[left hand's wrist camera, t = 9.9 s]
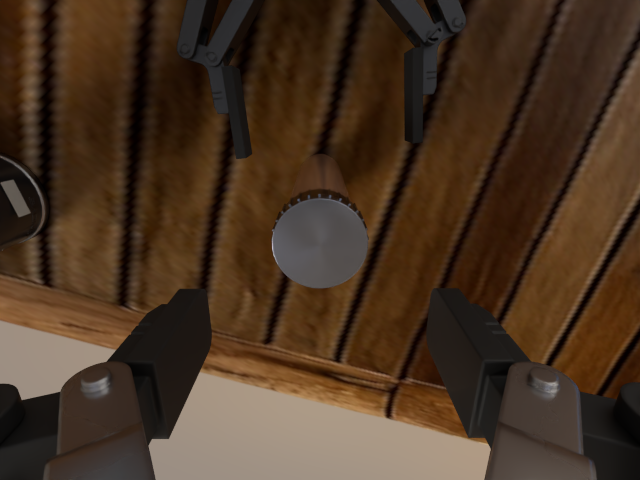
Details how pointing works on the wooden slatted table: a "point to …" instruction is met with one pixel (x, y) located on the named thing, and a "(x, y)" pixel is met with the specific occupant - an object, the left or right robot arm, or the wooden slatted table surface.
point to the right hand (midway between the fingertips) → (328, 149)
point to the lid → (319, 238)
